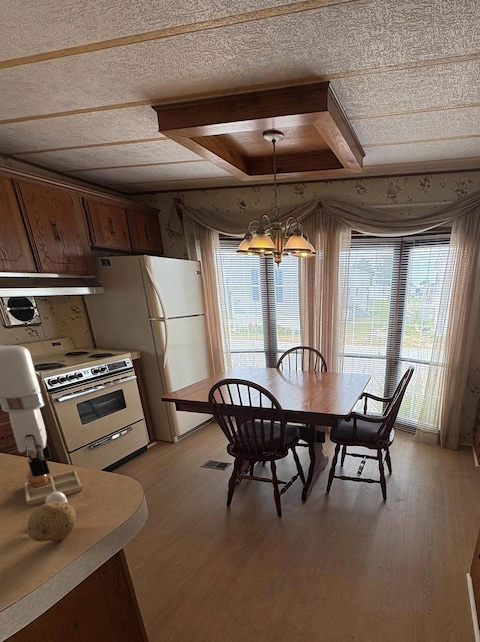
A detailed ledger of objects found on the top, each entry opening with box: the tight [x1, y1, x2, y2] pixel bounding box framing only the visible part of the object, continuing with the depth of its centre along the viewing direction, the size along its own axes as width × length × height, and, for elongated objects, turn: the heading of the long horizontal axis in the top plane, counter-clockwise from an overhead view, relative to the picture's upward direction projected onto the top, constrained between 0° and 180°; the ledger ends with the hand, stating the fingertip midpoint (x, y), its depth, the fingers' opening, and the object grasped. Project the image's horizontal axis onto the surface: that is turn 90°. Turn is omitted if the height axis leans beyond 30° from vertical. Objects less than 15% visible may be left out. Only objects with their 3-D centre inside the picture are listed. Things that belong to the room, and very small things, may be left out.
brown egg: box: [25, 468, 48, 489], centre depth 100 cm, size 4×4×6 cm
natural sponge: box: [27, 501, 77, 543], centre depth 79 cm, size 9×9×10 cm
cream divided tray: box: [23, 469, 83, 506], centre depth 101 cm, size 13×13×2 cm
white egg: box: [44, 492, 69, 504], centre depth 89 cm, size 4×4×6 cm
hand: (42, 466), depth 85 cm, fingers open, 9 cm apart
